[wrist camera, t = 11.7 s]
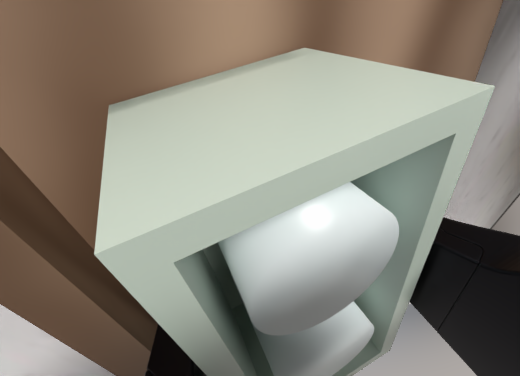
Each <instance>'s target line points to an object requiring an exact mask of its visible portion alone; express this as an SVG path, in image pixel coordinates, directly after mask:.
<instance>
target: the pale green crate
mask: <svg viewBox="0 0 520 376" xmlns="http://www.w3.org/2000/svg"><path fill="white" fill-rule="evenodd" d="M494 88H495V86H493V85H488V84H483V83H478V82H473V81H468V80H463V79H458V78H453V77H448V76H443V75H438V74H433V73H428V72H423V71H418V70H413V69H408V68H403V67H398V66H393V65H388V64H384V63H379V62H374V61H369V60H364V59H359V58H354V57H349V56H344V55H339V54H334V53H329V52H324V51H319V50H314V49H309V48H301V49H298V50H295V51H291V52H288V53H285V54H281V55H278V56H274V57H271V58H268V59H264V60H261V61H257V62H254V63H251V64H247V65H244V66H240V67H237V68H234V69H230V70H227V71H224V72H220V73H217V74H213V75H210V76H207V77H203V78H200V79H196V80H193V81H190V82H186V83H183V84H179V85H176V86H173V87H169V88H166V89H163V90H159V91H156V92H152V93H149V94H146V95H142V96H139V97H135V98H132V99H129V100H125V101H122V102H118V103H115V104H112V105H109V109H108V119H107V129H106V139H105V149H104V159H103V170H102V180H101V190H100V200H99V210H98V220H97V231H96V241H95V251H94V255H95V256H96V257H97V258H98V259H99V260H100V261H101V262H102V264H103V265H104V266H105V267H106V268H107V269H108V270H109V271H110V272H111V273H112V274H113V275H114V276H115V278H116V279H117V280H118V281H119V282H120V283H121V284H122V285H123V286H124V287H125V288H126V289H127V290H128V291H129V293H130V294H131V295H132V296H133V297H134V298H135V299H136V300H137V301H138V302H139V303H140V304H141V305H142V307H143V308H144V309H145V310H146V311H147V312H148V313H149V314H150V315H151V316H152V317H153V318H154V319H155V321H156V322H157V323H158V324H159V325H160V326H161V327H162V328H163V329H164V330H165V331H166V332H167V333H168V334H169V336H170V337H171V338H172V339H173V340H174V341H175V342H176V343H177V344H178V345H179V346H180V347H181V348H182V350H183V351H184V352H185V353H186V354H187V355H188V356H189V357H190V358H191V359H192V360H193V361H194V362H195V364H196V365H197V366H198V367H199V368H200V369H201V370H202V371H203V372H204V373H205V374H206V375H207V376H353V375H354V374H356V373H357V372H358V371H360V370H362V369H363V368H364V367H366V366H367V365H369V364H370V363H372V362H373V361H375V360H376V359H378V358H379V357H381V356H382V355H384V354H385V353H386V352H388V351H390V349H391V347H392V344H393V341H394V339H395V337H396V334H397V332H398V329H399V327H400V324H401V322H402V319H403V317H404V314H405V311H406V309H407V306H408V304H409V301H410V299H411V296H412V294H413V291H414V289H415V286H416V284H417V281H418V279H419V276H420V274H421V271H422V269H423V266H424V264H425V261H426V259H427V256H428V254H429V251H430V249H431V246H432V244H433V241H434V239H435V236H436V234H437V231H438V229H439V226H440V224H441V221H442V219H443V216H444V214H445V211H446V209H447V206H448V204H449V201H450V199H451V196H452V194H453V191H454V189H455V186H456V184H457V181H458V179H459V176H460V174H461V171H462V169H463V166H464V164H465V161H466V159H467V156H468V154H469V151H470V149H471V146H472V144H473V141H474V139H475V136H476V134H477V131H478V129H479V126H480V124H481V121H482V119H483V116H484V114H485V111H486V108H487V106H488V103H489V101H490V98H491V96H492V93H493V91H494Z"/></svg>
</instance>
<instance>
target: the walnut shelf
mask: <svg viewBox="0 0 520 376" xmlns="http://www.w3.org/2000/svg"><path fill="white" fill-rule="evenodd" d="M502 3H503V0H0V304H1V305H3V306H4V307H6V308H8V309H9V310H11V311H12V312H14V313H16V314H17V315H19V316H21V317H22V318H24V319H25V320H27V321H29V322H30V323H32V324H33V325H35V326H37V327H38V328H40V329H42V330H43V331H45V332H46V333H48V334H50V335H51V336H53V337H55V338H56V339H58V340H59V341H61V342H63V343H64V344H66V345H67V346H69V347H71V348H72V349H74V350H76V351H77V352H79V353H80V354H82V355H84V356H85V357H87V358H89V359H90V360H92V361H93V362H95V363H97V364H98V365H100V366H101V367H103V368H105V369H106V370H108V371H110V372H111V373H113V374H114V375H116V376H145V372H146V371H148V370H147V364H148V361H149V357H150V353H151V349H152V345H153V341H154V337H155V333H156V330H157V326H158V323H157V322H156V321H155V319H154V318H153V317H152V316H151V315H150V314H149V313H148V312H147V311H146V310H145V309H144V308H143V307H142V305H141V304H140V303H139V302H138V301H137V300H136V299H135V298H134V297H133V296H132V295H131V294H130V293H129V291H128V290H127V289H126V288H125V287H124V286H123V285H122V284H121V283H120V282H119V281H118V280H117V279H116V278H115V276H114V275H113V274H112V273H111V272H110V271H109V270H108V269H107V268H106V267H105V266H104V265H103V264H102V262H101V261H100V260H99V259H98V258H97V257H96V256H95V255H94V251H95V241H96V231H97V220H98V210H99V200H100V190H101V180H102V170H103V159H104V149H105V139H106V129H107V119H108V109H109V105H112V104H115V103H118V102H122V101H125V100H129V99H132V98H135V97H139V96H142V95H146V94H149V93H152V92H156V91H159V90H163V89H166V88H169V87H173V86H176V85H179V84H183V83H186V82H190V81H193V80H196V79H200V78H203V77H207V76H210V75H213V74H217V73H220V72H224V71H227V70H230V69H234V68H237V67H240V66H244V65H247V64H251V63H254V62H257V61H261V60H264V59H268V58H271V57H274V56H278V55H281V54H285V53H288V52H291V51H295V50H298V49H301V48H309V49H314V50H319V51H324V52H329V53H334V54H339V55H344V56H349V57H354V58H359V59H364V60H369V61H374V62H379V63H384V64H388V65H393V66H398V67H403V68H408V69H413V70H418V71H423V72H428V73H433V74H438V75H443V76H448V77H453V78H458V79H463V80H468V81H473V82H475V79H476V77H477V74H478V71H479V68H480V65H481V62H482V59H483V57H484V54H485V51H486V48H487V45H488V42H489V40H490V37H491V34H492V31H493V28H494V25H495V22H496V20H497V17H498V14H499V11H500V8H501V5H502Z"/></svg>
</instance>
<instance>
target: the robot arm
mask: <svg viewBox="0 0 520 376" xmlns="http://www.w3.org/2000/svg"><path fill="white" fill-rule="evenodd" d="M409 302H410V303H411V304H412V305H413V306H414V307H415V308H416V309H417V310H418V311H419V312H420V314H422V316H423V317H424V318H425V319H426V320H427V321H428V322H429V323H430V324H431V325H432V327H433V328H434V329H435V330H436V331H437V332H438V333H439V334H440V335H441V337H442V338H443V339H444V340H445V341H446V342H447V343H448V344H449V345H450V346H451V348H452V349H453V350H454V351H455V352H456V353H457V354H458V355H459V356H460V357H461V358H462V359H463V361H464V362H465V363H466V364H467V365H468V366H469V367H470V368H471V369H472V370H473V372H474V373H475V374H476V375H477V376H520V236H518V235H514V234H509V233H505V232H501V231H495V230H492V229H487V228H483V227H478V226H474V225H470V224H466V223H462V222H458V221H454V220H451V219H447V218H444V217H443V219H442V221H441V224H440V226H439V229H438V231H437V234H436V236H435V239H434V241H433V244H432V246H431V249H430V251H429V254H428V256H427V259H426V261H425V264H424V266H423V269H422V271H421V274H420V276H419V279H418V281H417V284H416V286H415V289H414V291H413V294H412V296H411V299H410V301H409ZM147 370H148V371H146V372H145V376H207V375H206V374H205V373H204V372H203V371H202V370H201V369H200V368H199V367H198V366H197V365H196V364H195V362H194V361H193V360H192V359H191V358H190V357H189V356H188V355H187V354H186V353H185V352H184V351H183V350H182V348H181V347H180V346H179V345H178V344H177V343H176V342H175V341H174V340H173V339H172V338H171V337H170V336H169V334H168V333H167V332H166V331H165V330H164V329H163V328H162V327H161V326H160V325H159V324H158V326H157V330H156V333H155V337H154V341H153V345H152V349H151V353H150V357H149V361H148V364H147Z"/></svg>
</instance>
